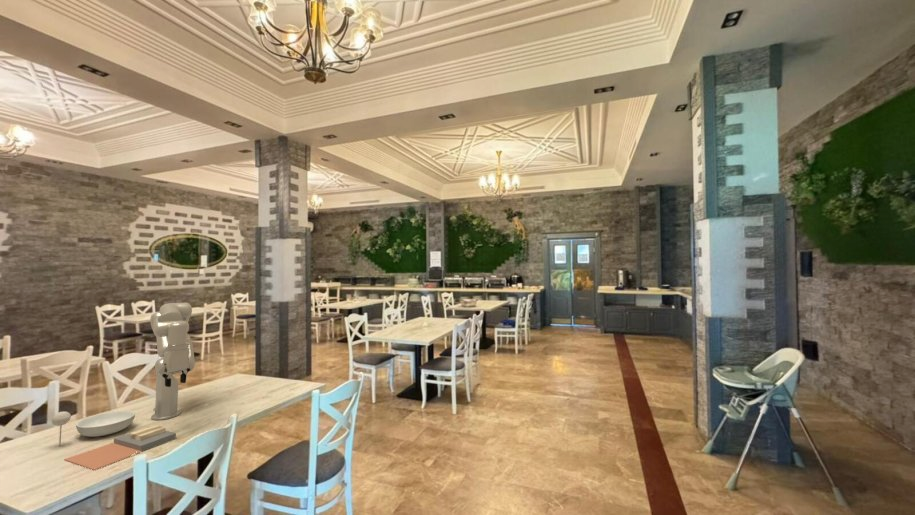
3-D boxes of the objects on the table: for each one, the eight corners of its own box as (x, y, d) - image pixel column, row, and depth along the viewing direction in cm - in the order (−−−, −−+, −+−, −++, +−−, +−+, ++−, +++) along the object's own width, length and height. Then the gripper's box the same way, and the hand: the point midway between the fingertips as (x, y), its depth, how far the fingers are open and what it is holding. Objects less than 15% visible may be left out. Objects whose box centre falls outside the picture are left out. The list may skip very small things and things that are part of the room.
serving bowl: (66, 445, 163) (67, 430, 164) (86, 428, 182) (87, 414, 182) (126, 436, 173) (127, 421, 173) (140, 421, 192) (140, 407, 192)
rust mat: (64, 460, 151) (64, 459, 151) (112, 443, 165) (112, 442, 165) (94, 470, 142) (94, 469, 142) (142, 452, 157) (142, 451, 157)
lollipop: (72, 444, 165) (74, 410, 166) (54, 450, 159) (56, 415, 160) (64, 442, 167) (66, 408, 168) (46, 447, 161) (48, 413, 162)
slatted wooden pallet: (129, 437, 166) (130, 433, 166) (154, 429, 175) (155, 425, 175) (140, 440, 163) (140, 436, 163) (165, 431, 172) (165, 427, 172)
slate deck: (113, 444, 165) (114, 438, 165) (149, 431, 178) (149, 426, 178) (140, 451, 158) (141, 445, 158) (175, 438, 171) (176, 433, 171)
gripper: (190, 344, 191) (188, 379, 190) (152, 350, 174) (150, 388, 174) (199, 345, 188) (198, 380, 187) (162, 351, 172) (160, 390, 171)
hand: (175, 384), depth 180 cm, fingers open, 6 cm apart
